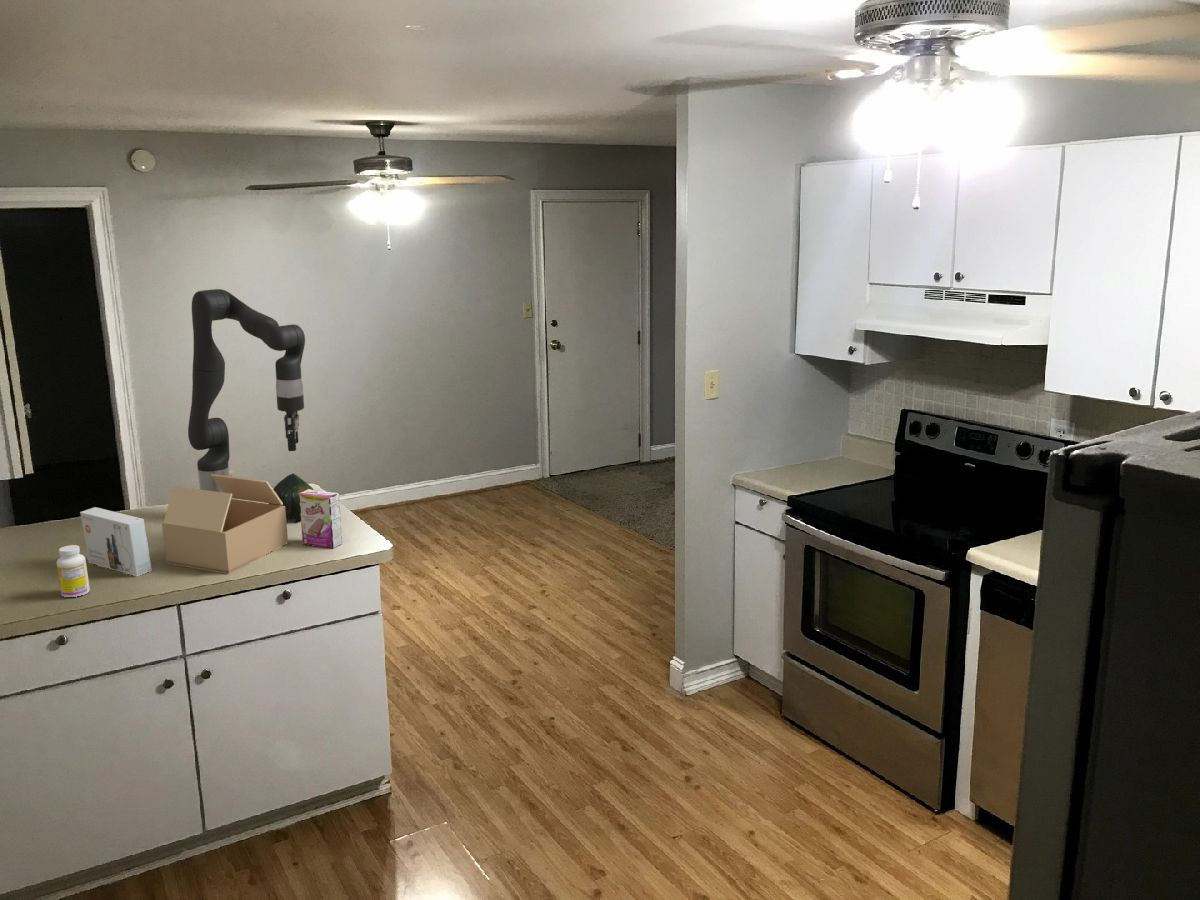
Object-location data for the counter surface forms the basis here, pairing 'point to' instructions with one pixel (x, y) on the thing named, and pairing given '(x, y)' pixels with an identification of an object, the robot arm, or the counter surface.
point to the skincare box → (116, 541)
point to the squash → (291, 494)
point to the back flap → (247, 489)
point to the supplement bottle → (72, 572)
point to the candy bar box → (320, 518)
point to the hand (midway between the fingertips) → (293, 446)
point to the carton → (228, 538)
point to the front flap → (197, 508)
